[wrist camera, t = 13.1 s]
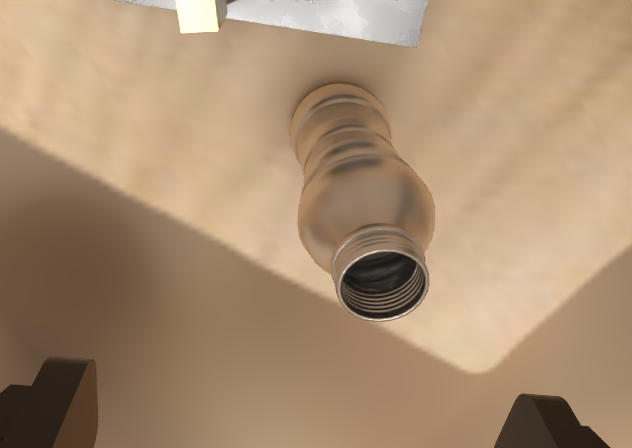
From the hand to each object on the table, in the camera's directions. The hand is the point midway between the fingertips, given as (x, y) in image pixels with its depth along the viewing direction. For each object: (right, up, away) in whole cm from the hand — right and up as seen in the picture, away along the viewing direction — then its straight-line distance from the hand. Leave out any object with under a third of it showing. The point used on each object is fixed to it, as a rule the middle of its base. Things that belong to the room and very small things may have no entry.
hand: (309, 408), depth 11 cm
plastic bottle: (+2, +11, +29) cm, 31 cm away
